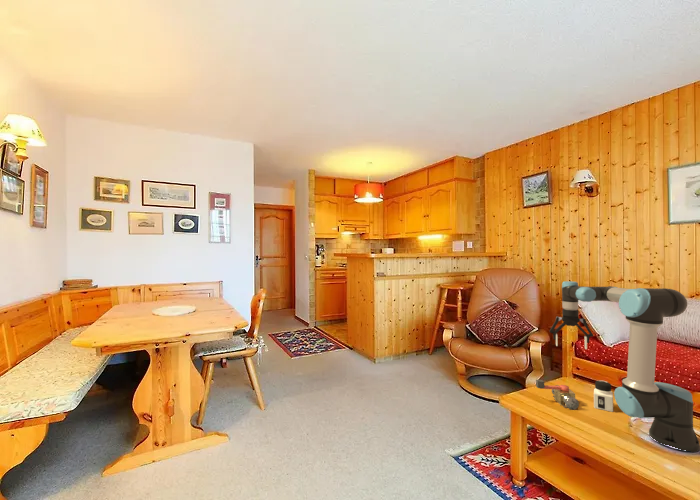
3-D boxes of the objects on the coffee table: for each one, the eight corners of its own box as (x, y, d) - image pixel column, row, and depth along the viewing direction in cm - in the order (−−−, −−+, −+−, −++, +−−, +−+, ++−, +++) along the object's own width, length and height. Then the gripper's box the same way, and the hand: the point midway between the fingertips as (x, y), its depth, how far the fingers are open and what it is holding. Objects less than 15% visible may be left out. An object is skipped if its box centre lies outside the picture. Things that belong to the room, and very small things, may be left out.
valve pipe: (580, 410, 166) (579, 397, 167) (565, 409, 168) (564, 396, 168) (564, 396, 182) (564, 384, 182) (550, 395, 183) (550, 384, 183)
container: (613, 412, 164) (612, 386, 164) (593, 408, 169) (593, 382, 169) (612, 406, 170) (612, 381, 170) (594, 402, 175) (593, 378, 175)
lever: (566, 388, 177) (566, 380, 177) (570, 391, 173) (570, 383, 173) (535, 386, 179) (535, 379, 179) (538, 389, 175) (538, 381, 175)
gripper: (596, 309, 182) (597, 348, 182) (544, 306, 194) (544, 342, 194) (599, 311, 176) (599, 351, 175) (544, 308, 188) (545, 345, 187)
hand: (571, 347), depth 184 cm, fingers open, 13 cm apart
